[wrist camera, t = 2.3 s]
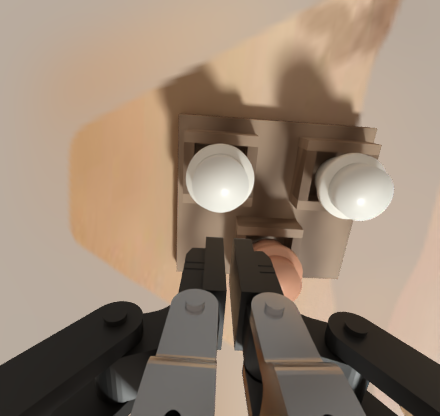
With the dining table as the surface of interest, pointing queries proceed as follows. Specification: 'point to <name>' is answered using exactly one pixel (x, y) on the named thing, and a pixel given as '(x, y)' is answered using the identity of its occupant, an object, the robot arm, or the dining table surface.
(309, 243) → the mount block
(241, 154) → the knob
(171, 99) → the dining table surface
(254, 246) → the middle knob
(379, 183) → the knob
